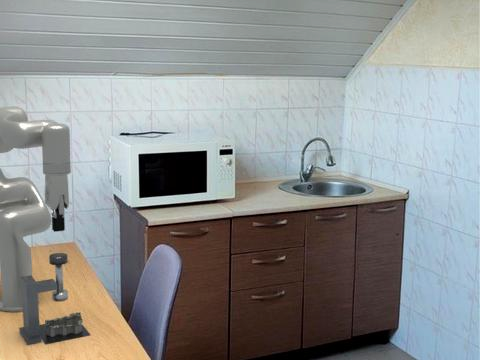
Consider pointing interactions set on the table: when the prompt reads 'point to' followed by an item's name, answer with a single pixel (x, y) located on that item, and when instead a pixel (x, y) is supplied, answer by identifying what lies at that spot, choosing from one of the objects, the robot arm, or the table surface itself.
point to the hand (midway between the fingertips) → (58, 230)
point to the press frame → (31, 313)
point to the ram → (59, 276)
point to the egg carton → (64, 325)
